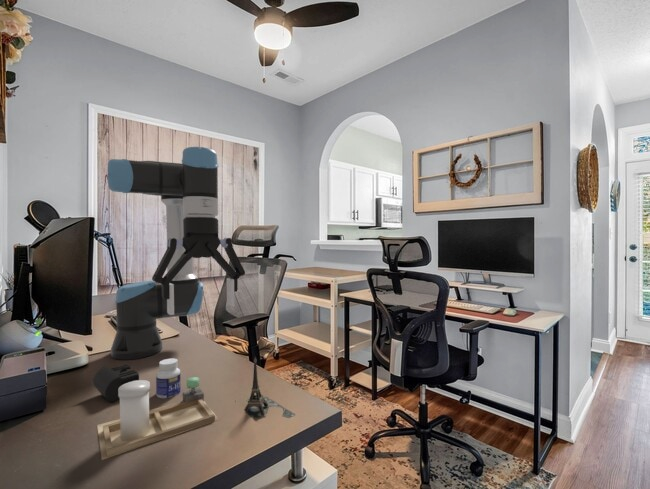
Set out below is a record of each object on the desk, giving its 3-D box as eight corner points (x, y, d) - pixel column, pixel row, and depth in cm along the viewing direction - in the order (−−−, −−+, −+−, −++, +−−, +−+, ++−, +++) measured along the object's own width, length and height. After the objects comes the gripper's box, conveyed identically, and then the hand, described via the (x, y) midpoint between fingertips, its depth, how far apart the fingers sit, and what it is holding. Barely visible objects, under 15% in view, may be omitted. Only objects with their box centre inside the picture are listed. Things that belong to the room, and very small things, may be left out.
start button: (185, 394, 76) (185, 378, 76) (197, 390, 77) (197, 376, 77) (188, 398, 74) (188, 383, 74) (200, 395, 75) (200, 379, 75)
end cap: (93, 396, 81) (92, 369, 81) (125, 386, 86) (125, 360, 86) (105, 410, 74) (105, 380, 74) (140, 399, 79) (139, 371, 79)
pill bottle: (171, 404, 77) (170, 366, 76) (151, 402, 78) (150, 364, 77) (185, 393, 82) (184, 358, 82) (166, 391, 83) (166, 356, 83)
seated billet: (117, 432, 64) (116, 384, 63) (148, 422, 67) (147, 377, 67) (120, 445, 59) (119, 395, 59) (153, 435, 63) (152, 387, 62)
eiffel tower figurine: (296, 417, 72) (296, 356, 72) (256, 437, 65) (255, 369, 65) (259, 393, 83) (258, 340, 82) (220, 408, 76) (220, 350, 75)
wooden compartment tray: (97, 430, 66) (96, 415, 66) (199, 400, 78) (199, 387, 78) (101, 466, 56) (101, 448, 56) (219, 425, 68) (219, 409, 68)
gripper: (143, 213, 65) (144, 321, 65) (258, 218, 81) (259, 304, 81) (136, 216, 71) (137, 314, 71) (244, 219, 87) (245, 300, 87)
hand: (202, 309), depth 76 cm, fingers open, 13 cm apart
